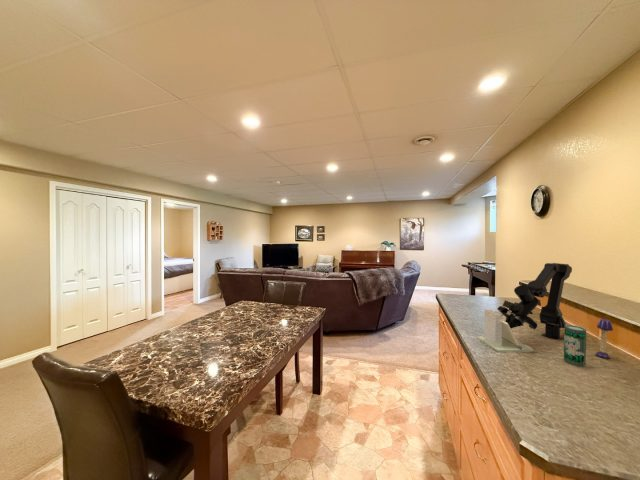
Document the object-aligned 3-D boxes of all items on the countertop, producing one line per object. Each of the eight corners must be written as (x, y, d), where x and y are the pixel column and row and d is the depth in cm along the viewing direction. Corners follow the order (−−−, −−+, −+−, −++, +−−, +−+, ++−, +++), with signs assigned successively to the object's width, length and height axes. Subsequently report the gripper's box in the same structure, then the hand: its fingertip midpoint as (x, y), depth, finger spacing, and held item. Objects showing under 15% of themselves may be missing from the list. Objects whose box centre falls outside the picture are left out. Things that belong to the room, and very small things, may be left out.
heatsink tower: (493, 339, 126) (493, 309, 125) (504, 346, 118) (505, 315, 117) (484, 339, 126) (484, 309, 125) (495, 346, 118) (495, 315, 117)
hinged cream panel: (500, 335, 128) (488, 312, 128) (520, 346, 116) (507, 321, 115) (499, 336, 128) (487, 313, 128) (518, 347, 116) (505, 322, 115)
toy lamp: (606, 355, 111) (607, 318, 110) (615, 360, 106) (616, 322, 106) (592, 353, 112) (593, 317, 112) (600, 358, 108) (601, 320, 107)
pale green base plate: (509, 337, 129) (509, 333, 129) (534, 351, 114) (534, 346, 114) (477, 338, 129) (477, 333, 129) (497, 352, 114) (497, 347, 114)
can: (561, 360, 106) (562, 326, 106) (568, 357, 109) (569, 324, 108) (580, 367, 101) (581, 331, 100) (587, 364, 103) (588, 329, 103)
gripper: (500, 290, 130) (480, 312, 131) (530, 300, 112) (507, 325, 112) (515, 304, 131) (495, 326, 131) (548, 316, 112) (524, 341, 112)
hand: (504, 329), depth 122 cm, fingers closed, pressing on hinged cream panel
